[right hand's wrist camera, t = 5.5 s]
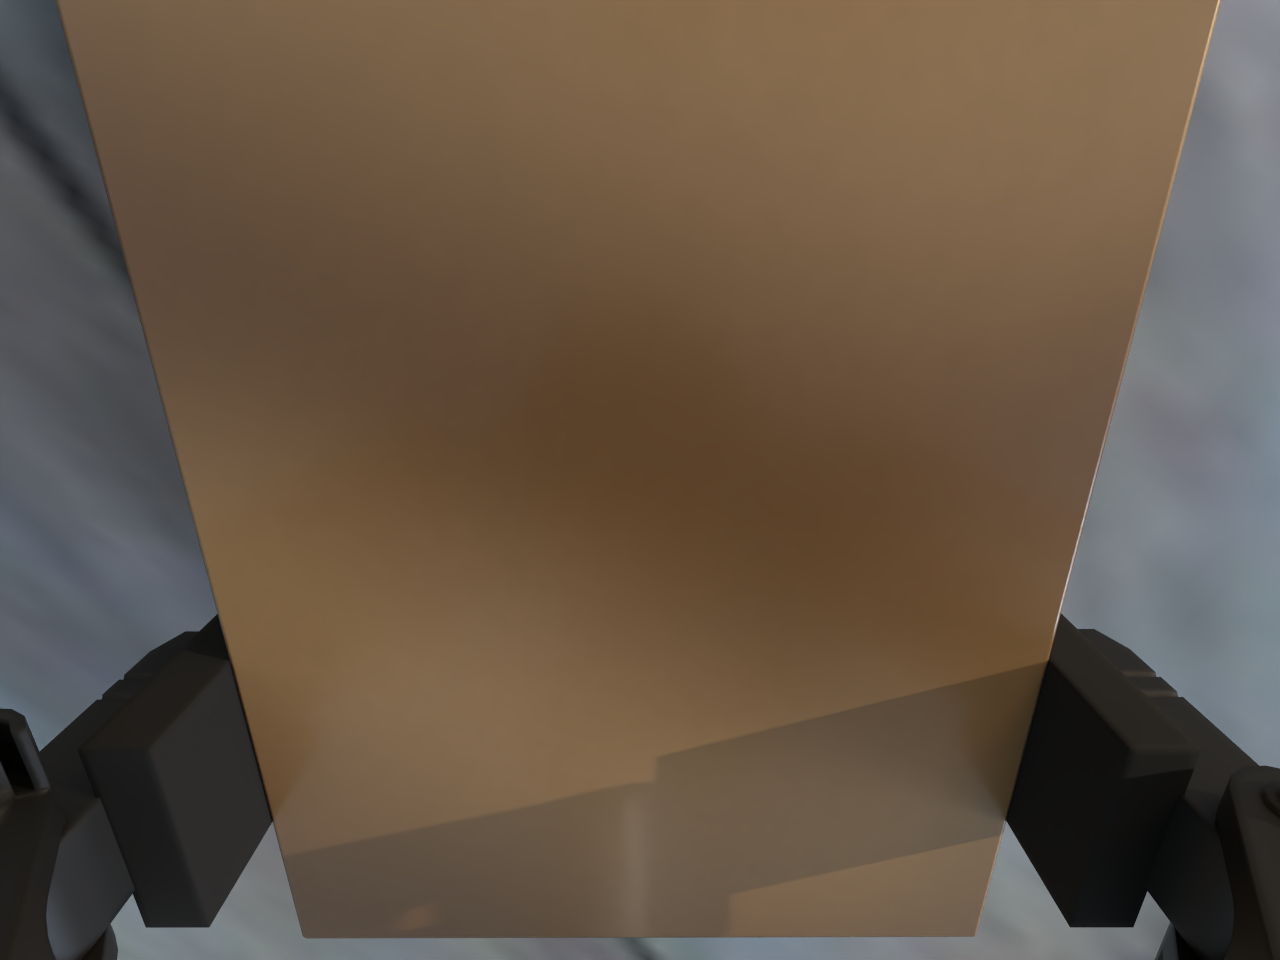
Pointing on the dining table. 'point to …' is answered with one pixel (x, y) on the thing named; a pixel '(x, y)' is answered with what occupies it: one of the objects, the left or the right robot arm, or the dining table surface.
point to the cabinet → (638, 426)
